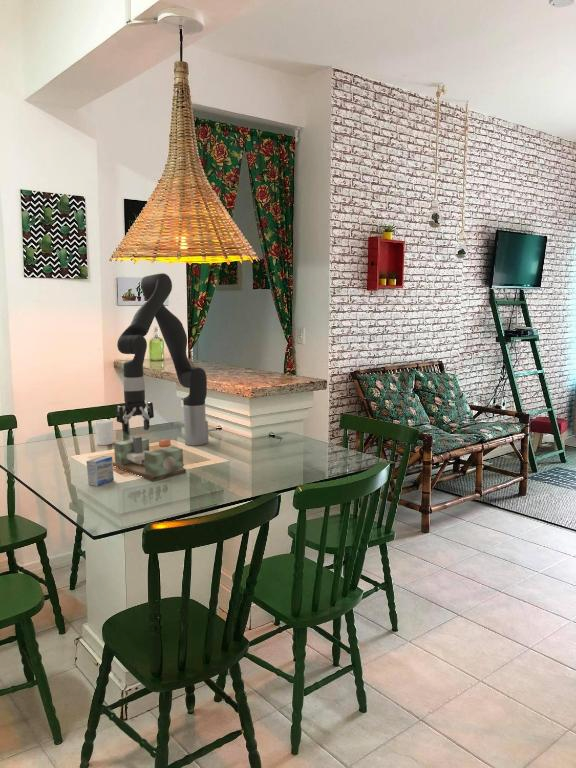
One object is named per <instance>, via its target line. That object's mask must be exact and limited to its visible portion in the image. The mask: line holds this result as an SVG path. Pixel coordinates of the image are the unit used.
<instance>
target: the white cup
mask: <svg viewBox="0 0 576 768" xmlns="http://www.w3.org/2000/svg"><path fill="white" fill-rule="evenodd" d="M94 431H95V438H96V444H97V445H98V446H108V445H112V444H114V420H113V419H98V420H94Z"/></svg>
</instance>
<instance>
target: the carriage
mask: <svg viewBox="0 0 576 768" xmlns="http://www.w3.org/2000/svg"><path fill="white" fill-rule="evenodd" d="M142 438H143V436H139V435H136V436H132V439H133V450H134V452H133V453H128V454H127V459H128V460H131V461H132V462H134V463H137V464H142V460H145V455H144V453H145V452H150V451H151V450H149V451H147V450H143V451H142Z"/></svg>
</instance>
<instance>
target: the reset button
mask: <svg viewBox="0 0 576 768" xmlns="http://www.w3.org/2000/svg"><path fill="white" fill-rule="evenodd" d="M158 447H160V448H169V447H172V445H171V439H169V438H164V439H163V438H162V439H159V440H158Z"/></svg>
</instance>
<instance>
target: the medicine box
mask: <svg viewBox="0 0 576 768" xmlns="http://www.w3.org/2000/svg"><path fill="white" fill-rule="evenodd" d="M86 471H87V472H86V473H87V482H88V483H87V484H88V485H89V486H94V487H99V486H102V485H105V484H107V483H110V481H111V482H113V481H114V480H115V478H114V467H113V457H112V456H109V455H101V456H99V457H95V458H92V459H89V460H86ZM112 480H113V481H112Z"/></svg>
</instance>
